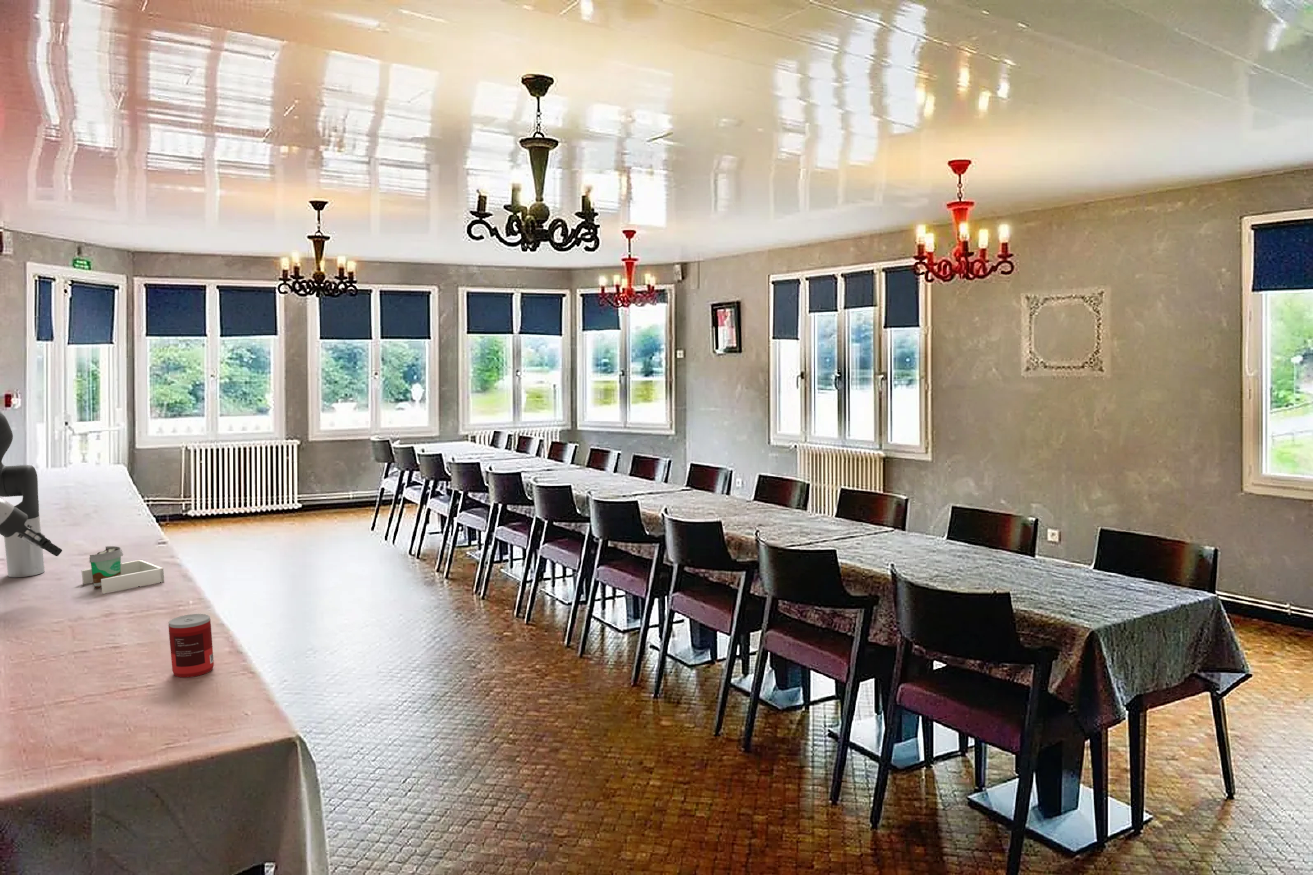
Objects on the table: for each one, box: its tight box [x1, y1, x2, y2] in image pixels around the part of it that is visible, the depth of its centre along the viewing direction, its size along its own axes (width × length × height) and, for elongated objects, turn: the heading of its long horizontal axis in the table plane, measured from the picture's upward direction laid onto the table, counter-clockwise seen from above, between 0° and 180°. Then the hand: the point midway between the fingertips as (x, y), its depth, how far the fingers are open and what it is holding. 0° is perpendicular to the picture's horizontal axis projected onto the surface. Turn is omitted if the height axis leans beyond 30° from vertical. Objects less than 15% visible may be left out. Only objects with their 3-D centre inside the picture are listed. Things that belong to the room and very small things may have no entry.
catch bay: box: [81, 559, 165, 595], centre depth 263 cm, size 18×16×4 cm
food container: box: [89, 545, 124, 590], centre depth 262 cm, size 12×6×10 cm, turn 11°
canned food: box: [167, 613, 215, 678], centre depth 187 cm, size 8×8×11 cm
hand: (59, 553), depth 251 cm, fingers closed
